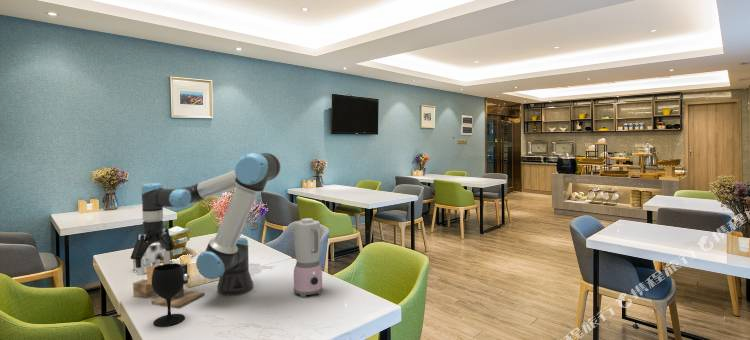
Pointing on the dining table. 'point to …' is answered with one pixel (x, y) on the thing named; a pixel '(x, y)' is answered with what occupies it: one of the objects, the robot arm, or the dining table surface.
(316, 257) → the blender
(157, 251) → the toy llama
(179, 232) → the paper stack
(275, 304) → the dining table surface
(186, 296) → the base board
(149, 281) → the hook
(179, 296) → the eye post
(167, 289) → the wine glass
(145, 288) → the rest block
